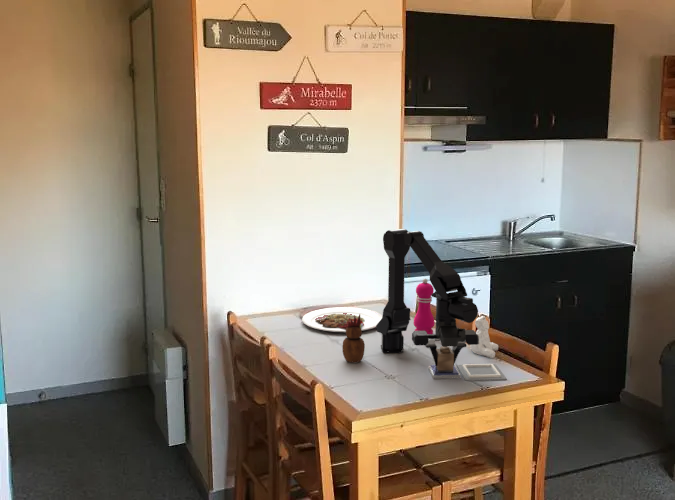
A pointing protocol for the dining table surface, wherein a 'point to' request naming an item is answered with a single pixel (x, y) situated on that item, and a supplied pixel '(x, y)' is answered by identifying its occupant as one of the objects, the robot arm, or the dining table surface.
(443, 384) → the dining table surface
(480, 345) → the seated beast figurine
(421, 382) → the dining table surface
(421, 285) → the pepper mill
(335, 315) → the plated food
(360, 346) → the wooden figurine
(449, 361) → the stamp
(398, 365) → the dining table surface
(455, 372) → the ink pad
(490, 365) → the board
